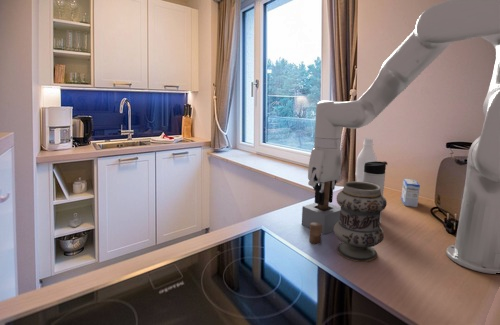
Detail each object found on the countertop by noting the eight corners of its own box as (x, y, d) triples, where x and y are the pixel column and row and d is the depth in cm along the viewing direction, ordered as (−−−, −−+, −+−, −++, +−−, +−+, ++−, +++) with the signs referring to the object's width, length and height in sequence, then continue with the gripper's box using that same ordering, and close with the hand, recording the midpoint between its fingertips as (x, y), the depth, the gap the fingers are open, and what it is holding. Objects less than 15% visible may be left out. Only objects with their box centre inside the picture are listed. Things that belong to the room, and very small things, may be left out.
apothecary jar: (369, 241, 84) (375, 178, 80) (390, 264, 72) (399, 192, 68) (326, 241, 83) (330, 179, 80) (341, 265, 72) (347, 192, 68)
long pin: (322, 209, 95) (324, 178, 93) (330, 212, 93) (332, 181, 90) (315, 211, 93) (317, 180, 91) (323, 214, 91) (325, 182, 89)
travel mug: (383, 226, 93) (389, 164, 89) (360, 225, 94) (366, 163, 90) (378, 219, 99) (384, 160, 95) (358, 217, 100) (363, 159, 96)
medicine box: (400, 199, 120) (403, 178, 118) (413, 200, 118) (415, 179, 116) (404, 205, 112) (406, 183, 110) (417, 207, 111) (420, 184, 109)
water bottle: (352, 205, 113) (357, 138, 107) (353, 199, 119) (358, 136, 114) (372, 207, 110) (379, 140, 105) (373, 201, 116) (379, 137, 111)
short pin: (323, 242, 83) (324, 225, 82) (315, 245, 81) (316, 228, 80) (314, 238, 85) (315, 221, 84) (306, 241, 84) (307, 224, 83)
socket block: (343, 227, 93) (344, 208, 92) (324, 234, 88) (325, 215, 86) (320, 218, 100) (321, 200, 99) (301, 224, 95) (302, 206, 93)
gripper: (334, 140, 96) (330, 194, 100) (298, 144, 87) (295, 204, 90) (355, 143, 90) (350, 201, 94) (318, 147, 81) (314, 212, 85)
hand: (323, 202), depth 92 cm, fingers closed on long pin, 3 cm apart
